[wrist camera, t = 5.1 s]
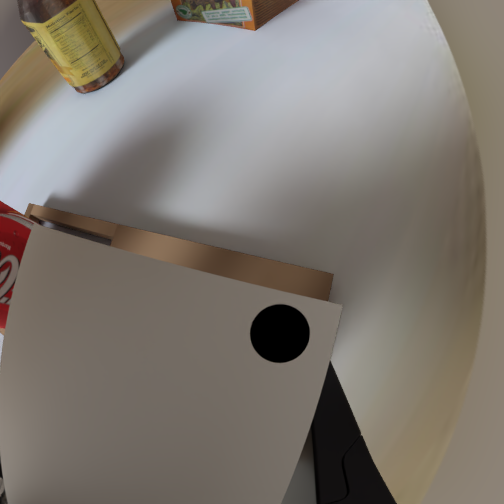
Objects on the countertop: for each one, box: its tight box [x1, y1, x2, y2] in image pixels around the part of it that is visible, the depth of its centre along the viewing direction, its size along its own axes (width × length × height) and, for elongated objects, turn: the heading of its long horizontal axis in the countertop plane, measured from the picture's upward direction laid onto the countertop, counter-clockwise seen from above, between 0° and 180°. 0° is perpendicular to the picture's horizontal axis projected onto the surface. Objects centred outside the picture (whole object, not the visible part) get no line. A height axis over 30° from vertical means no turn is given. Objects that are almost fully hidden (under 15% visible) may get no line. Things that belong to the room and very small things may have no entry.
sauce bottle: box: [17, 0, 124, 94], centre depth 13 cm, size 7×6×20 cm
